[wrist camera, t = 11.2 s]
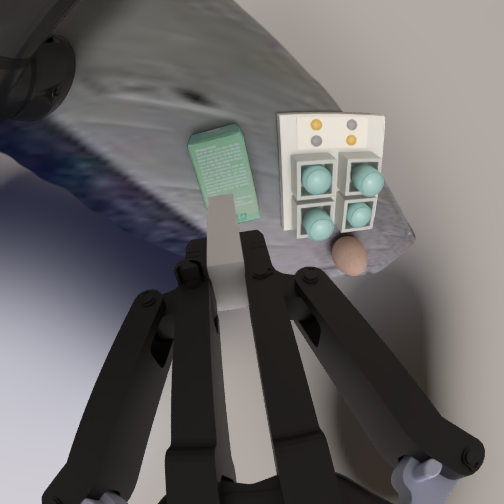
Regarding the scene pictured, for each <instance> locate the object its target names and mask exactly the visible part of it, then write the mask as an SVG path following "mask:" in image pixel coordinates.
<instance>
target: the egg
mask: <svg viewBox="0 0 504 504" xmlns="http://www.w3.org/2000/svg"><path fill="white" fill-rule="evenodd" d="M332 259H333V261H334V263H335V265H336V266H337V268H338V269H339V270H340V271H342V272H343V273H345V274H347V275H350V276H356V275H359V274H361V273H363V271H364V270H365V268H366V266H367V252H366V250H365V247H364V246H363V244H362V243H361V242H360V241H359V240H358V239H356V238H354V237H350V236H344V237H341V238H339V239H338V240H337V241H336V242H335V243H334V245H333V248H332Z"/></svg>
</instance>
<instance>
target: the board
mask: <svg viewBox="0 0 504 504" xmlns="http://www.w3.org/2000/svg"><path fill="white" fill-rule="evenodd" d="M276 114H277V131H278V149H279V170H280V195H281V225H282V227H283V230H284V231H285V230H292V229H293V232H294V234H295V236H296V238H297V239H299V238H306V237H309V236H308V234H307V232H306V230H305V228H304V227H303V224H302V218H303V215H304V214H305V213H306V212H307V211H308V210H309V209H311V208H315V207H319V208H322V209H324V210H325V211H326V212H327V214H328V215H329V217H330V218H331V219H332V221H333V223H334V224H336V226H337V227H338V229H339V230H340V231H341V233H343V232H350V231H358V230H365V229H372V226H373V220H374V216H375V210H376V203H377V196H378V194H377V195H375V196H372V197H367V196H364V195H363V194H362V193H361V192H360V191H359V190H358V189H357V188H356V187H355V186H354V185H353V184H352V182H351V174H352V171H353V170H354V168H355V167H356V166H358V165H359V164H362V163H366V164H369V165H371V166H372V167H374V168H375V169H376V170H378V171H379V172H380V173H381V164H382V154H383V143H384V129H385V116H383V115H380V114H370V113H352V112H351V113H350V112H293V113H276ZM314 164H322V165H323V166H324V167H325V168H326V169H327V170H328V171H329V172H330V174H331V177H332V182H331V185H330V187H329V189H328V190H327V191H325V192H324V193H322V194H318V195H314V194H311V193H309V192H308V191H307V190H306V189H305V187H304V186H303V185H302V183H301V166H302V165H314ZM357 202H365V203H366V204H367V206H368V207H369V208H370V209H371V212H372V216H371V219H370V221H369V222H368V223H367V224H366V225H365V226H363V227H360V228H355V227H353V226H351V224H350V223H349V222H348V220H347V219H346V215H347V206H348V203H357Z"/></svg>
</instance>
